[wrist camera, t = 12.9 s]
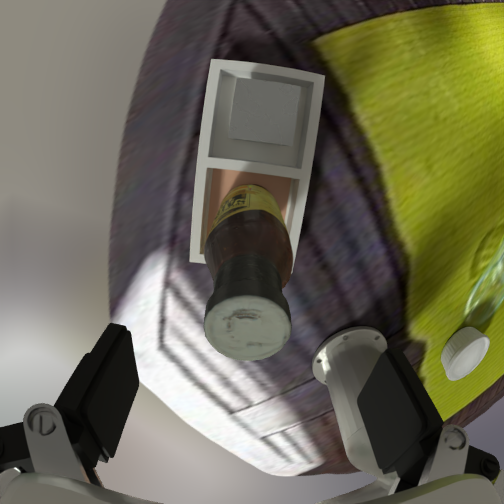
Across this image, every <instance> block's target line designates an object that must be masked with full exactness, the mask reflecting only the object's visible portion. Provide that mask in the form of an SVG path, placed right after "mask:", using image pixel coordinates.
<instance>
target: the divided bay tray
mask: <svg viewBox="0 0 504 504" xmlns="http://www.w3.org/2000/svg"><path fill="white" fill-rule="evenodd" d="M237 77H240V78H249V79H257V80H265V81H271V82H278V83H284V84H289V85H295V86H300V87H301V92H300V99H299V106H298V113H297V120H296V127H295V134H294V140H293V146H279V145H272V144H266V143H258V142H251V141H242V140H234V139H230V138H228V134H229V126H230V119H231V112H232V105H233V98H234V91H235V85H236V78H237ZM324 80H325V76H324V75H320V74H316V73H311V72H307V71H302V70H297V69H292V68H286V67H280V66H274V65H267V64H260V63H252V62H243V61H232V60H218V59H211V64H210V70H209V76H208V82H207V89H206V95H205V102H204V109H203V117H202V124H201V132H200V140H199V149H198V158H197V168H196V178H195V189H194V200H193V213H192V228H191V244H190V262H197V263H205V264H206V262H205V258H204V246H205V243H206V240H207V237H208V234H209V232H210V230H211V227H212V224H213V222H214V219H215V217H216V215H217V212H218V210H219V207H220V205H221V202H222V201H223V199H224V197H225V196H226V195H227V194H228V193H229V192H230V191H231V190H233V189H234V188H236V187H238V186H240V185H243V184H257V185H260V186H262V187H264V188H265V189H267V190H268V191H269V192H270V193H271V194H272V195H273V196H274V198H275V199H276V201H277V203H278V205H279V208H280V211H281V214H282V217H283V220H284V223H285V225H286V228H287V231H288V234H289V237H290V242H291V246H292V251H293V265H294V260H295V256H296V251H297V246H298V241H299V236H300V231H301V225H302V220H303V215H304V209H305V204H306V198H307V193H308V187H309V181H310V176H311V170H312V164H313V157H314V151H315V145H316V138H317V132H318V125H319V118H320V111H321V104H322V96H323V88H324ZM292 270H293V267H292ZM291 273H292V271H291Z"/></svg>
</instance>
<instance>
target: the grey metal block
mask: <svg viewBox="0 0 504 504" xmlns="http://www.w3.org/2000/svg"><path fill="white" fill-rule="evenodd" d="M300 92H301V87H300V86H295V85H289V84H284V83H278V82H271V81H265V80H257V79H249V78H240V77H237V78H236V85H235V91H234V98H233V105H232V112H231V119H230V126H229V134H228V138H230V139H234V140H242V141H251V142H258V143H266V144H272V145H279V146H293V140H294V134H295V127H296V120H297V113H298V106H299V99H300Z"/></svg>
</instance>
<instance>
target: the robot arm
mask: <svg viewBox="0 0 504 504" xmlns="http://www.w3.org/2000/svg"><path fill="white" fill-rule="evenodd" d="M312 369H313V373H314V375H315V377H316V379H318V380H319V381H320V382H321V383H323V384H326V385H327V386H328V389H329V393H330V396H331V399H332V403H333V406H334V410H335V414H336V417H337V421H338V424H339V428H340V432H341V435H342V439H343V443H344V447H345V450H346V454H347V456H348V459H349V460H350V462H351V463H352V464H353V465H354V466H355V467H356V468H358V469H360V470H361V471H364V472H366V473H368V474H371V475H374V476H376V477H377V480H376V481H374V482H373V483H371V484H369V485H366V486H365V487H362V488H360V489H357V490H354V491H352V492H349V493H346V494H343V495H340V496H337V497H334V498H331V499H328V500H324V501H321V502H319V503H316V504H504V470H503V469H501V470H500V466H499V462H498V460H497V459H496V457H495V456H493V455H492V454H489V453H487V452H484V451H482V450H480V449H477V448H475V447H473V446H470V445H469V438H468V435H467V433H466V432H465V430H464V429H462V428H461V427H459V426H457V425H448V426H446V427H445V428H444V429H443V428H442V425H443V424H444V422H443V420H442V418H441V416H440V415H439V413H438V411H437V409H436V407H435V405H434V404H433V402H432V400H431V398H430V397H429V395H428V393H427V391H426V390H425V388H424V386H423V384H422V383H421V381H420V379H419V378H418V376H417V374H416V373H415V371H414V369H413V368H412V366H411V364H410V363H409V361H408V360H407V358H406V356H405V355H404V353H403V352H402V350H401V349H387V342H386V340H385V338H384V336H383V335H382V333H381V332H380V331H378V330H377V329H375V328H372V327H368V326H357V327H351V328H348V329H345V330H342V331H340V332H338V333H336V334H334V335H333V336H331V337H330V338H328V339H327V340H326V341H325V342H323V344H322V345H321V346H320V347H319V348H318V349H317V351H316V352H315V354H314V357H313V360H312ZM138 387H139V377H138V372H137V367H136V361H135V356H134V349H133V343H132V337H131V332H130V331H128V330H127V328H126V326H124V325H119V324H114V323H110V324H109V325H108V326H107V328H106V330H105V331H104V332H103V334H102V335H101V337H100V338H99V340H98V341H97V343H96V345H95V346H94V348H93V349H92V351H91V352H90V353H87V354H85V356H84V357H83V358H82V360H81V361H80V363H79V364H78V366H77V368H76V369H75V371H74V373H73V374H72V376H71V377H70V379H69V381H68V382H67V384H66V386H65V387H64V389H63V391H62V392H61V394H60V396H59V397H58V399H57V401H56V403H55V404H54V406H51V405H49V404H45V403H41V404H36V405H33V406H32V407H30V408H29V409H28V410H27V411H26V413H25V415H24V418H23V422H20V423H16V424H12V425H9V426H4V427H0V504H162V503H158V502H153V501H149V500H144V499H140V498H136V497H132V496H128V495H125V494H122V493H118V492H115V491H112V490H108V489H105V488H104V485H103V484H102V482H101V480H100V478H99V476H98V474H97V472H96V470H95V467H96V465H97V462H98V460H99V461H102V462H105V463H107V462H108V460H109V457H110V458H113V457H114V455H115V452H116V450H117V446H118V444H119V441H120V438H121V434H122V431H123V429H124V426H125V423H126V420H127V417H128V415H129V412H130V409H131V407H132V404H133V401H134V398H135V396H136V393H137V390H138Z"/></svg>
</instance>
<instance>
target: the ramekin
mask: <svg viewBox="0 0 504 504" xmlns="http://www.w3.org/2000/svg"><path fill="white" fill-rule="evenodd" d="M488 347H489V338H488V337H487V336H486V335H485V334H482V333H481V332H480V331H478V330H477V329H475V328H474V327H465V328H462V329H461V330H459V331H457V332H456V333H455V334H454V335H453V336H452V337H451V338H450V339H449V340H448V342H447V343H446V345H445V346H444V348H443V351H442V355H441V361H442V364H443V366H444V368H445V371H446V375H447V377H448V378H449V379H450V380H458V379H461V378H463V377H464V376H466V375H467V374H469V373H470V372H471V371H472V370H473V369H474V368H475V367H476V366H477V365H478V364H479V363H480V362H481V360H482V359H483V357H484V356H485V354H486V352H487V350H488Z"/></svg>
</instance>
